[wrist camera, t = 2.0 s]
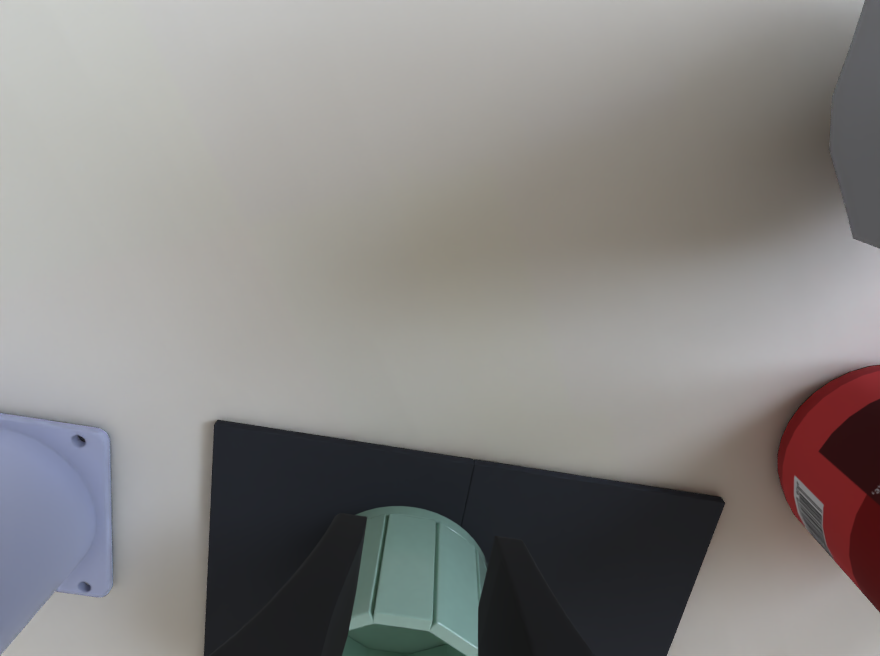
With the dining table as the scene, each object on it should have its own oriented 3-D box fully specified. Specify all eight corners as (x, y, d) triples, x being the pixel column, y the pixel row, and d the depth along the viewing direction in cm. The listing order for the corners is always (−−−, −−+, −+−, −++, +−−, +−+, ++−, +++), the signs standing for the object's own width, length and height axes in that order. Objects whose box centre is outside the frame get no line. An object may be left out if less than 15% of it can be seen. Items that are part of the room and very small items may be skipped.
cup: (304, 636, 26) (266, 766, 20) (321, 492, 23) (283, 598, 18) (472, 659, 26) (477, 794, 21) (505, 520, 23) (521, 632, 18)
